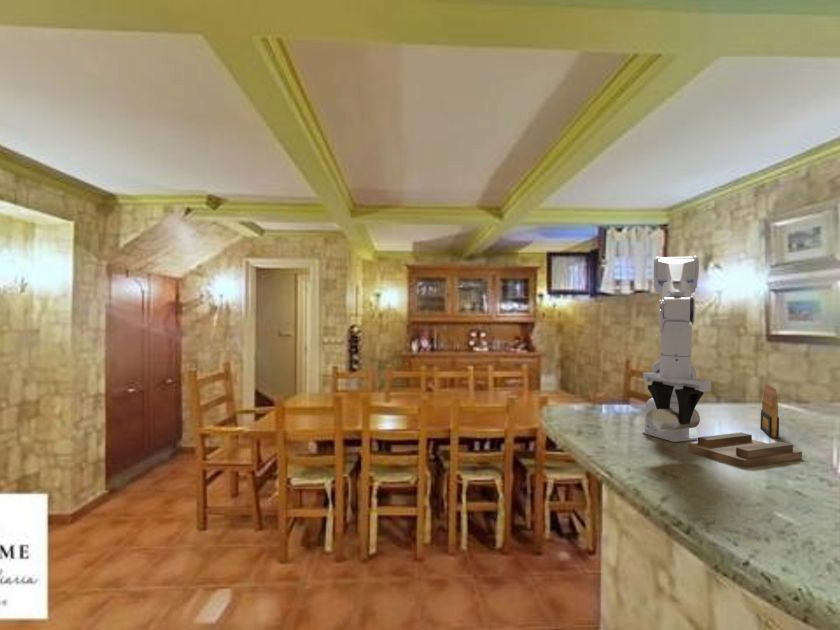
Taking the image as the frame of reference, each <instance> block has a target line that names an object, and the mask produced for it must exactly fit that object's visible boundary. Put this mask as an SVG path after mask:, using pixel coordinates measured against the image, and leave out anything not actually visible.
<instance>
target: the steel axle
mask: <svg viewBox="0 0 840 630" xmlns="http://www.w3.org/2000/svg"><path fill="white" fill-rule="evenodd" d="M646 421H647V424H648V426H649V428H650V429H651V430H653V431H655V432H660V431H669V430H679V429H688V428H689V429H695V428H696V427H698V426H699V425H700V421H701V417H700V413H699V412H698V410H697V409H696V408H695V409H694V411H693V414H692V417H691V420H690V424H685V425H682V424H680V423H679V407H678V408H666V409H654V410H650V411H649V412H648V414H647V417H646Z"/></svg>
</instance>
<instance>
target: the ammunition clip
mask: <svg viewBox="0 0 840 630" xmlns="http://www.w3.org/2000/svg"><path fill="white" fill-rule="evenodd" d="M759 429H760V430H761V431H762V432H763V433H764V434H765V435H766V436H767V437H769V438H770V439H779V438H780V437H779V435H780V417H779V403H778V393H777V389H776V388H774V387H772V386H771V385H770V384H767V383H765V385H764V387H763V394H762V401H761V409H760V428H759ZM769 438H768V439H769Z"/></svg>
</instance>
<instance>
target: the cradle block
mask: <svg viewBox="0 0 840 630" xmlns="http://www.w3.org/2000/svg"><path fill="white" fill-rule="evenodd" d="M697 437H698V436H697ZM688 452H690V453H692V452H693V454H696V453H697V454H696V455H699V454H700V456H702V455H703V457H706V458H710V459H713V460H717V461H718V462H719V461H720V462H722V463H726V464H730V465H733V466H735V467H739V468H742V469H747V468H753V467H759V466H766V465H773V464H778V463H785V462H791V461H798V460H802V459H803V451H800V450H797V449H794V444H792V443H787V442H784V441H777V442H776V441H775V442H769V443H768V442H763V441H760V440H755V439H753V435H752V434H749V433H745V432H732V433H725V434H716V435H707V436H706V435H704V436H699V437H698V439H697V443H690V444H688Z"/></svg>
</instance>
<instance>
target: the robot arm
mask: <svg viewBox="0 0 840 630" xmlns="http://www.w3.org/2000/svg"><path fill="white" fill-rule="evenodd" d="M699 273H700V259H699V257H698V256H697V255H693V256H667V257H665V256H663V257H662V256H655V257H654V259H653V282H654V283H653V287H654V291H655V293H657V294H659V295H661V299H659V302H658V321H659V333H660V337H659V338H660V339H659V340H660V343H659V352H660V353H659V354H660V355H659V360H658V361H657V362H655V363H653V365H652V366H651V372H642V381H643V382H646V383H648V382H649V383H650V384H647V389H648V392H649V393H650V395H651V398H649V399H648V400H647V401H646V404H645V408H644V430H641V433H642V434H645V435H649V436H652V437H656V438H660V439H663V440H667V441H670V442H674V443H677V442H686V441H694V440H695V441H696V440H697V441H698V436H694V435H691V434H690V428H688V429H679V430H669V431H660V432H655V431H653V430H651V429H650V428H649V426H648V424H647V421H646V417H647V414H648V412H649V411H650V410H654V409H666V408H678V407H679V423H680V424H682V425H685V424H690V420H691V417H692V414H693V411H694V409H696V406H697V404H698V403H699V401H700V400H701V398H702V397H703V396H704V393H705V392H711V391H712V381H709V380H703V379H699V378H698V376H697V369H696V367H695V366H694V365H693V364H692V346H693V344H692V341H693V340H692V339H693V338H692V336H693V326H694V324H695V320H696V319H695V318H696V300H695V298H694V296H692V294H695V293H696V289H697V288H698V280H699ZM690 323H691V324H692V325H691V324H690Z"/></svg>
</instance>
